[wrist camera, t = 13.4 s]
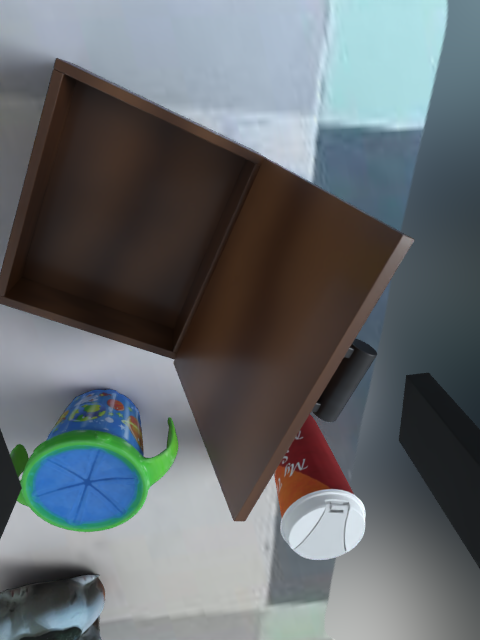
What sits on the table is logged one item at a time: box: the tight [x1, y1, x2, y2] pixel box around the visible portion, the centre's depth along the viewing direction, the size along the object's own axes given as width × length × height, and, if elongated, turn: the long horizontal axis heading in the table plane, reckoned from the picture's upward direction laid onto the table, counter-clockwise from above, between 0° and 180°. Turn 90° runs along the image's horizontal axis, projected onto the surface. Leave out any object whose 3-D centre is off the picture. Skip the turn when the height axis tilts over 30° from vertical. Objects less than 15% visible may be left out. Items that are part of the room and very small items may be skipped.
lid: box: [174, 158, 414, 521], centre depth 31 cm, size 16×18×5 cm
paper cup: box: [274, 414, 365, 560], centre depth 45 cm, size 8×8×14 cm
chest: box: [0, 58, 266, 359], centre depth 37 cm, size 15×18×5 cm
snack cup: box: [10, 389, 178, 532], centre depth 43 cm, size 16×10×10 cm
